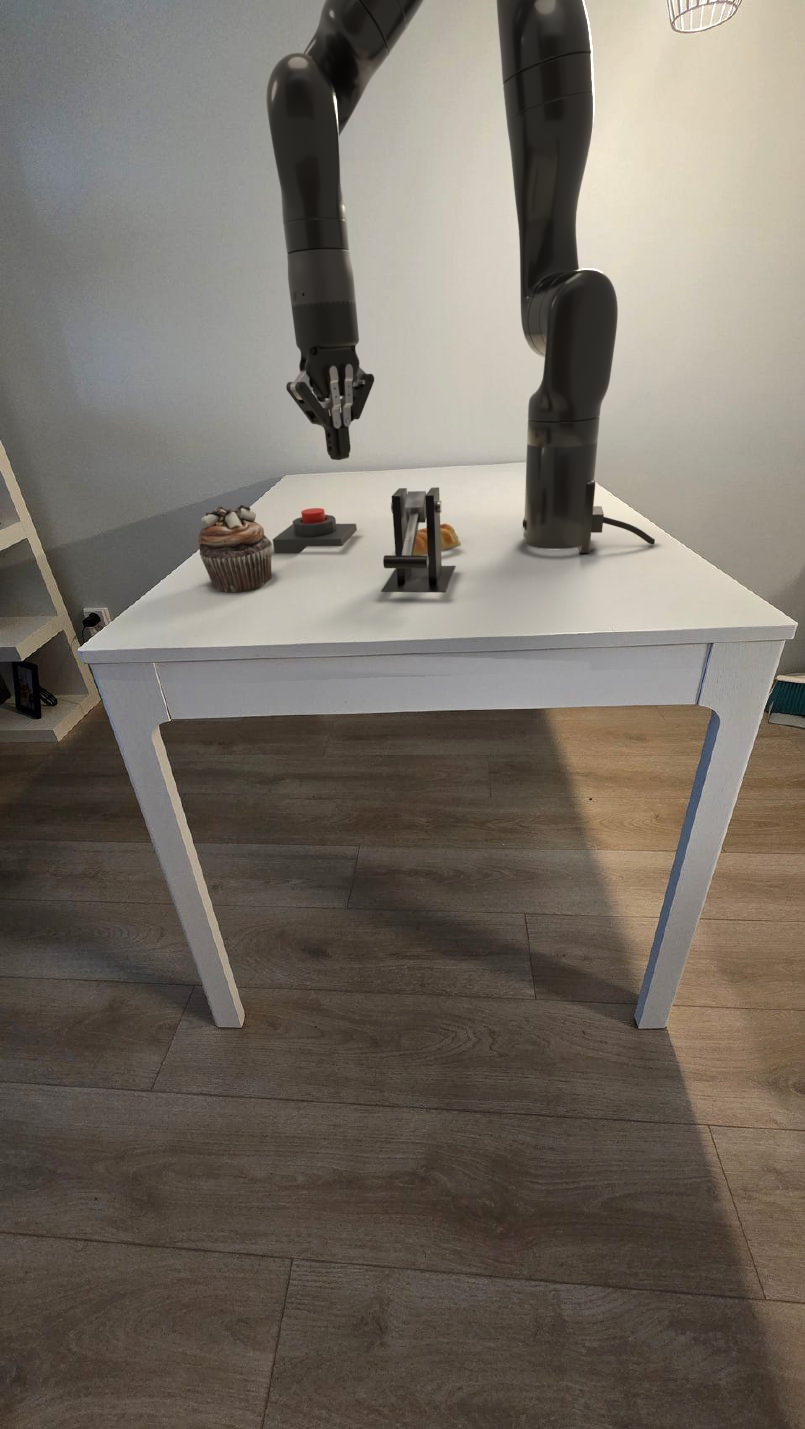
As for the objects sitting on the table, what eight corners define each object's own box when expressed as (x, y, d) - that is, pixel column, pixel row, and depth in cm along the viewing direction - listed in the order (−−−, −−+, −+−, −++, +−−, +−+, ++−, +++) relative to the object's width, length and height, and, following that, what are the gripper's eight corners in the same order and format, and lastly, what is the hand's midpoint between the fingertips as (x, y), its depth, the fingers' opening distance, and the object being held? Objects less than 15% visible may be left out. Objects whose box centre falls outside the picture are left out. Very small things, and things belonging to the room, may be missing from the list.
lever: (428, 574, 73) (425, 558, 71) (385, 573, 74) (381, 558, 72) (439, 506, 78) (437, 490, 76) (399, 507, 79) (396, 491, 77)
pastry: (415, 567, 89) (413, 540, 87) (385, 558, 94) (383, 532, 92) (464, 552, 94) (464, 525, 92) (434, 544, 99) (433, 518, 97)
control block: (357, 537, 105) (355, 512, 103) (342, 553, 97) (339, 526, 95) (294, 537, 107) (290, 513, 105) (274, 553, 99) (270, 527, 97)
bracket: (445, 601, 77) (443, 500, 71) (381, 600, 79) (373, 501, 73) (456, 574, 86) (454, 482, 80) (397, 574, 87) (391, 483, 81)
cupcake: (197, 596, 84) (179, 519, 79) (219, 572, 93) (204, 501, 88) (268, 593, 84) (255, 515, 79) (284, 570, 92) (273, 498, 87)
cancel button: (328, 519, 101) (327, 507, 101) (321, 525, 98) (320, 513, 98) (306, 519, 102) (305, 508, 101) (299, 525, 99) (297, 513, 98)
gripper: (299, 298, 68) (320, 470, 77) (386, 297, 76) (395, 452, 85) (257, 304, 73) (281, 465, 82) (343, 302, 81) (357, 449, 90)
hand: (340, 458), depth 83 cm, fingers closed
